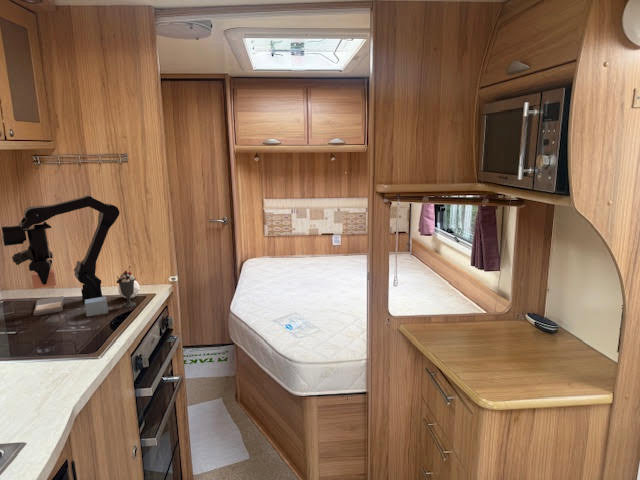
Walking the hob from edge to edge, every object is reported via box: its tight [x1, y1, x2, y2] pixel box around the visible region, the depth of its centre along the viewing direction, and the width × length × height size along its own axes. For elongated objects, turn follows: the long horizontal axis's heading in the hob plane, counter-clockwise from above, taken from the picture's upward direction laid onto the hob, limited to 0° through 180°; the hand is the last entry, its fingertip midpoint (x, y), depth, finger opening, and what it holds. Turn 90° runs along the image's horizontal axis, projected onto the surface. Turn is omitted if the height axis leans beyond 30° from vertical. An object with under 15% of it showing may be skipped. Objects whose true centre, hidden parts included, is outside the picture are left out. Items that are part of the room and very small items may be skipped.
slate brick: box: [84, 296, 109, 317], centre depth 162 cm, size 7×5×5 cm, turn 117°
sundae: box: [116, 265, 137, 309], centre depth 167 cm, size 7×7×15 cm
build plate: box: [33, 295, 65, 317], centre depth 169 cm, size 9×16×1 cm, turn 27°
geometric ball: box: [117, 280, 140, 299], centre depth 176 cm, size 8×8×8 cm
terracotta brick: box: [30, 269, 57, 289], centre depth 164 cm, size 7×5×5 cm, turn 118°
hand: (45, 282), depth 164 cm, fingers closed on terracotta brick, 5 cm apart
